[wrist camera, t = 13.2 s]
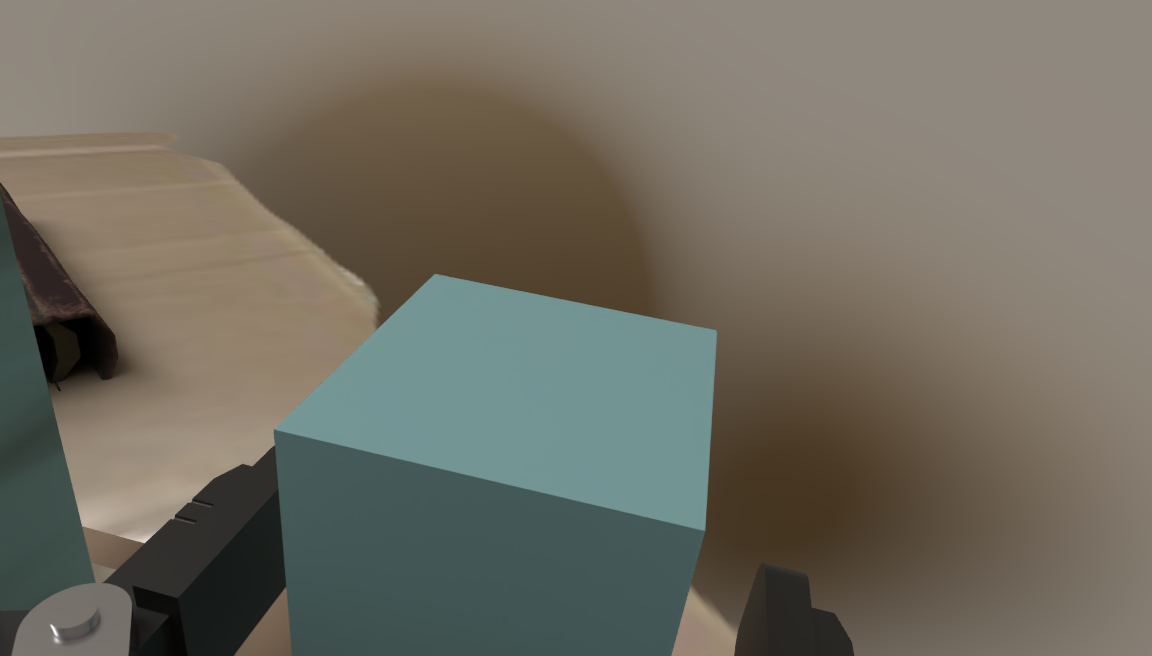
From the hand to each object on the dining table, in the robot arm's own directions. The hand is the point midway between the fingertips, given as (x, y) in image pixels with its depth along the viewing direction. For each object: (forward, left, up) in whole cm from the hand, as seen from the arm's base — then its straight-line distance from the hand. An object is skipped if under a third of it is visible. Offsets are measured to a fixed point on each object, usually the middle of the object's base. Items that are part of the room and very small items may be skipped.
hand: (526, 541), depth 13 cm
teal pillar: (0, -1, -8) cm, 8 cm away
